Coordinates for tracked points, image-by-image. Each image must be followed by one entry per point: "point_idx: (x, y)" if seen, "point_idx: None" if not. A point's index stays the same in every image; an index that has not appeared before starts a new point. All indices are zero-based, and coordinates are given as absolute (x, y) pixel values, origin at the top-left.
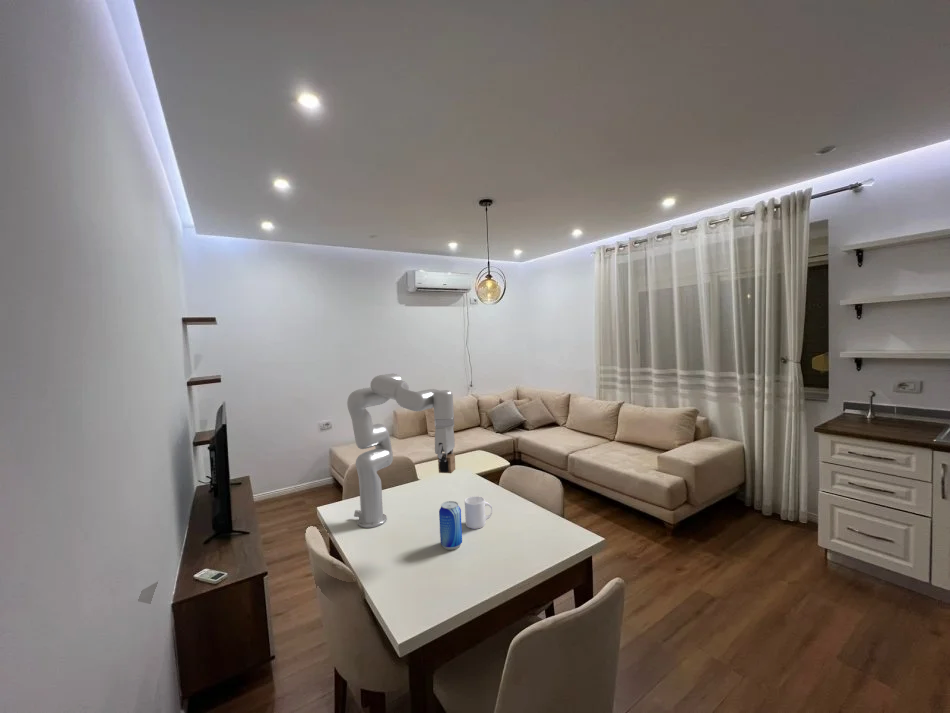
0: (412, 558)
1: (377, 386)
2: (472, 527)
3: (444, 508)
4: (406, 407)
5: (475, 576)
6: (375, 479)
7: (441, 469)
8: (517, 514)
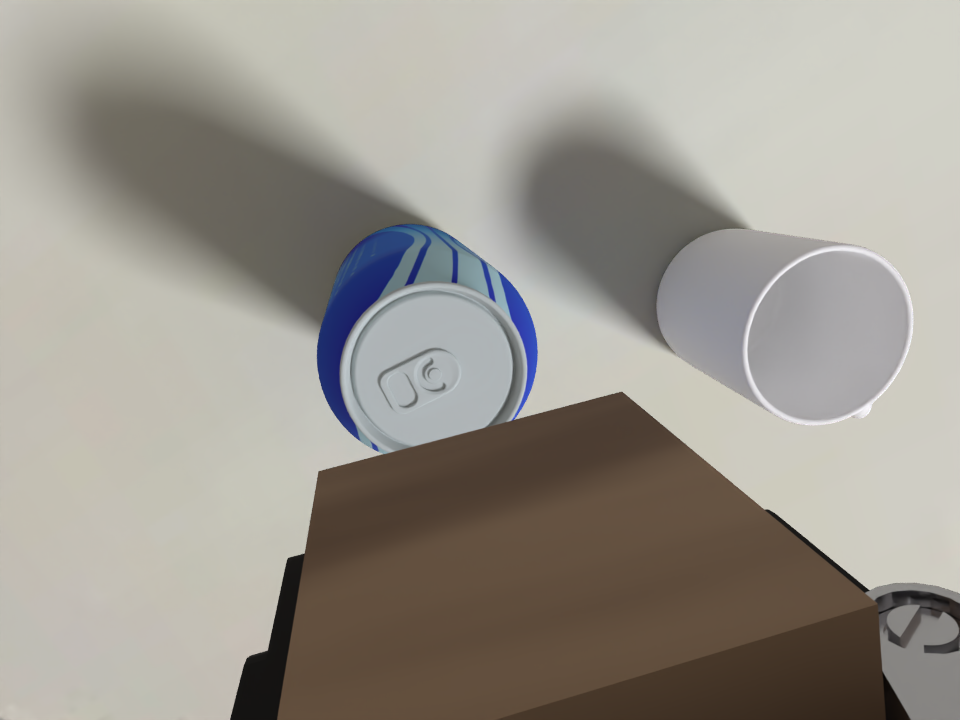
0: (130, 144)
1: None
2: (657, 315)
3: (342, 367)
4: None
5: (186, 601)
6: None
7: (251, 657)
8: (923, 475)
